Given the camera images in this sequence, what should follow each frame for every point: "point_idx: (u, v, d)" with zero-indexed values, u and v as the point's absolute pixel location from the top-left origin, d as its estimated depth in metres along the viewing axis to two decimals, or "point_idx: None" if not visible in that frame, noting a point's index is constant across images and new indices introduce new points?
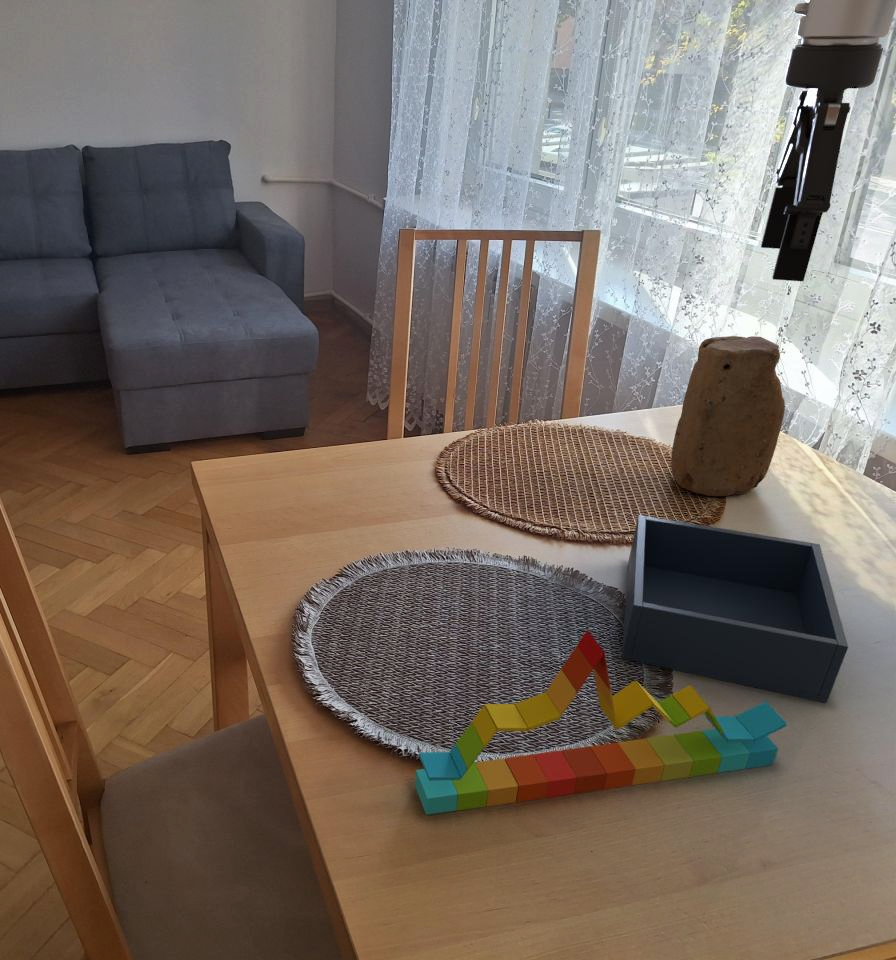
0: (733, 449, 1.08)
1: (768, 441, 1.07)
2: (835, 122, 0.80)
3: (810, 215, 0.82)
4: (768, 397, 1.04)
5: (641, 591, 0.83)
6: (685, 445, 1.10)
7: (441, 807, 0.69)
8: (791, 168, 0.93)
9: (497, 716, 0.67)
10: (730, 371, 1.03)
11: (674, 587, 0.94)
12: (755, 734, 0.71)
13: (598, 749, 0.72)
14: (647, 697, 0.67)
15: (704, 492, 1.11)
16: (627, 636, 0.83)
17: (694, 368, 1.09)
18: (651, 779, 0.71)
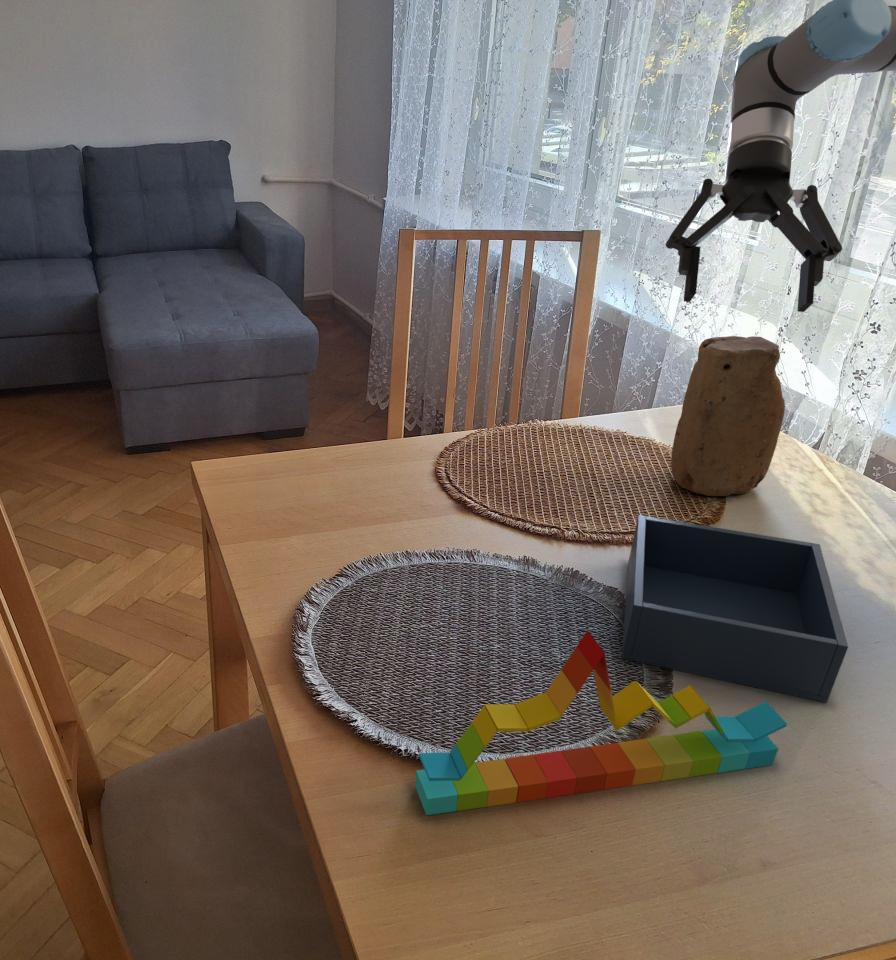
0: (733, 449, 1.08)
1: (768, 441, 1.07)
2: (699, 192, 1.14)
3: (680, 248, 1.13)
4: (768, 397, 1.04)
5: (641, 591, 0.83)
6: (685, 445, 1.10)
7: (441, 807, 0.69)
8: (797, 245, 1.11)
9: (497, 716, 0.67)
10: (730, 371, 1.03)
11: (674, 587, 0.94)
12: (755, 734, 0.71)
13: (598, 749, 0.72)
14: (647, 697, 0.67)
15: (704, 492, 1.11)
16: (627, 636, 0.83)
17: (694, 368, 1.09)
18: (651, 779, 0.71)
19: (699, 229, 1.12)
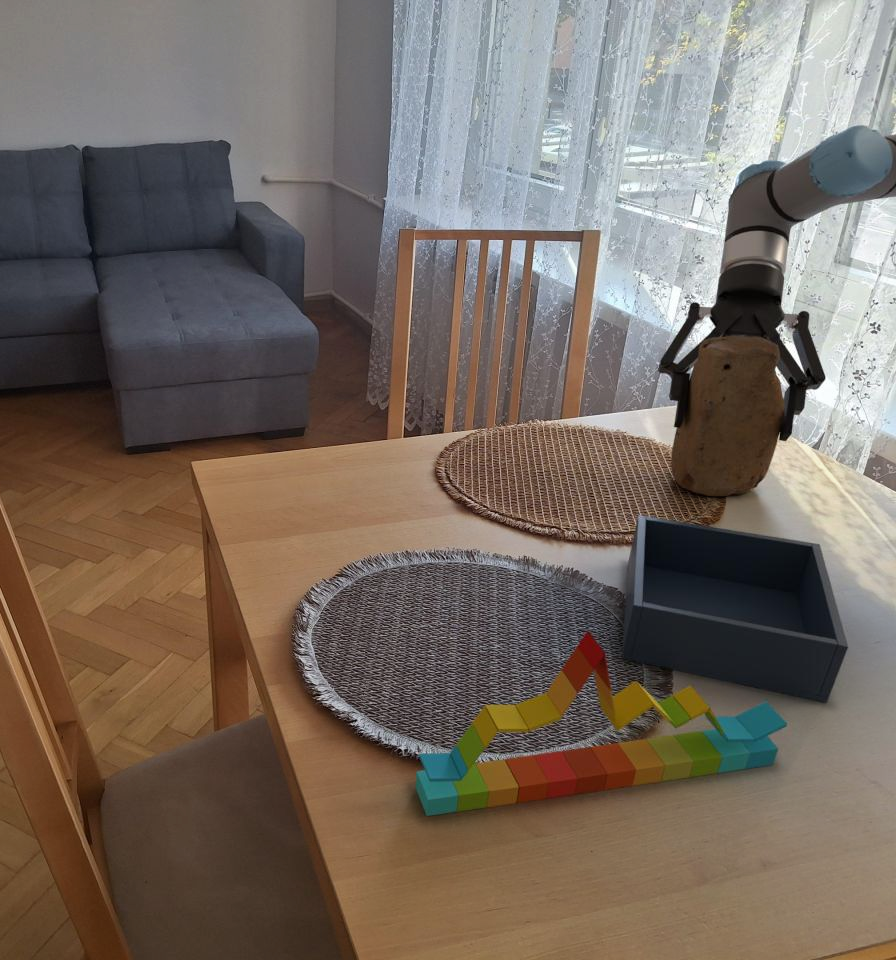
0: (733, 449, 1.08)
1: (768, 441, 1.07)
2: (687, 316, 1.13)
3: (670, 373, 1.12)
4: (768, 397, 1.04)
5: (641, 591, 0.83)
6: (685, 445, 1.10)
7: (441, 808, 0.69)
8: (782, 371, 1.08)
9: (498, 717, 0.67)
10: (730, 371, 1.03)
11: (674, 587, 0.94)
12: (755, 734, 0.71)
13: (598, 750, 0.72)
14: (647, 697, 0.67)
15: (704, 492, 1.11)
16: (627, 636, 0.83)
17: (694, 368, 1.09)
18: (651, 780, 0.71)
19: (688, 355, 1.11)
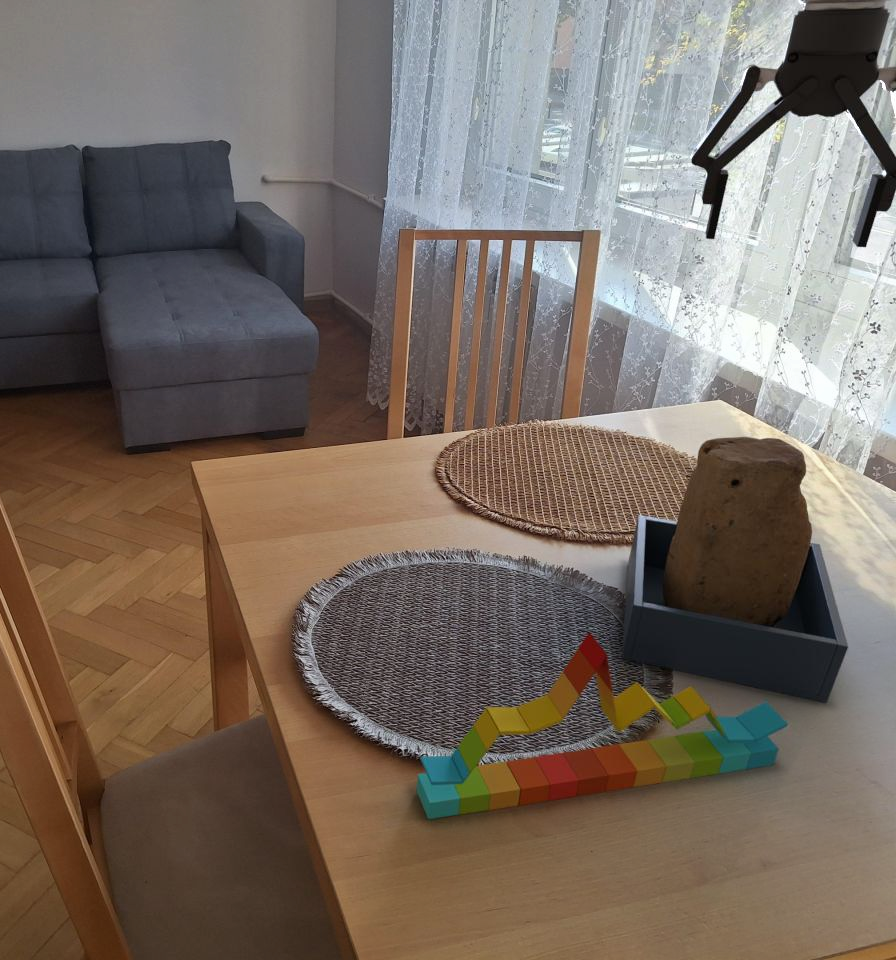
0: (743, 585, 0.82)
1: (789, 575, 0.81)
2: (742, 83, 0.84)
3: (705, 169, 0.89)
4: (790, 521, 0.78)
5: (641, 591, 0.83)
6: (680, 575, 0.85)
7: (443, 811, 0.69)
8: (871, 150, 0.83)
9: (499, 719, 0.66)
10: (739, 489, 0.78)
11: None
12: (756, 734, 0.71)
13: (599, 751, 0.72)
14: (649, 699, 0.67)
15: None
16: (627, 636, 0.83)
17: (692, 477, 0.83)
18: (653, 781, 0.71)
19: (731, 148, 0.86)
